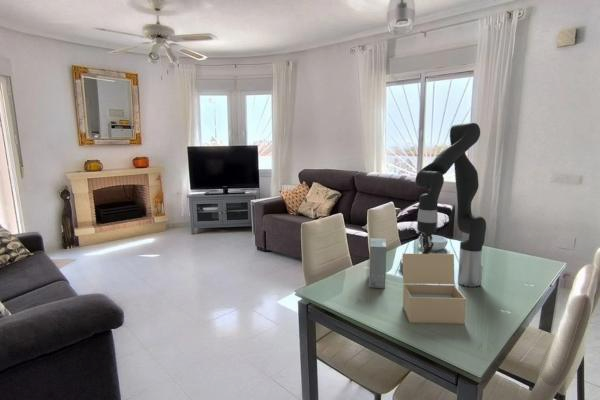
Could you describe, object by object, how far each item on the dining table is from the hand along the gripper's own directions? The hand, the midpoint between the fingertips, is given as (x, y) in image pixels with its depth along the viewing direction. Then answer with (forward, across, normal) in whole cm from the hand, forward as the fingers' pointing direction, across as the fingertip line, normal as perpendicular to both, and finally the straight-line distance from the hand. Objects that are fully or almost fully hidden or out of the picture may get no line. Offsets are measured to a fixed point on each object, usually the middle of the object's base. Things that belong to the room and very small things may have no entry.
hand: (424, 259), depth 142 cm
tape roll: (+19, +35, -5) cm, 41 cm away
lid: (+2, -5, 0) cm, 5 cm away
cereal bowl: (+20, +74, -24) cm, 80 cm away
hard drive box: (+19, +19, +17) cm, 32 cm away
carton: (+18, -13, 0) cm, 22 cm away
